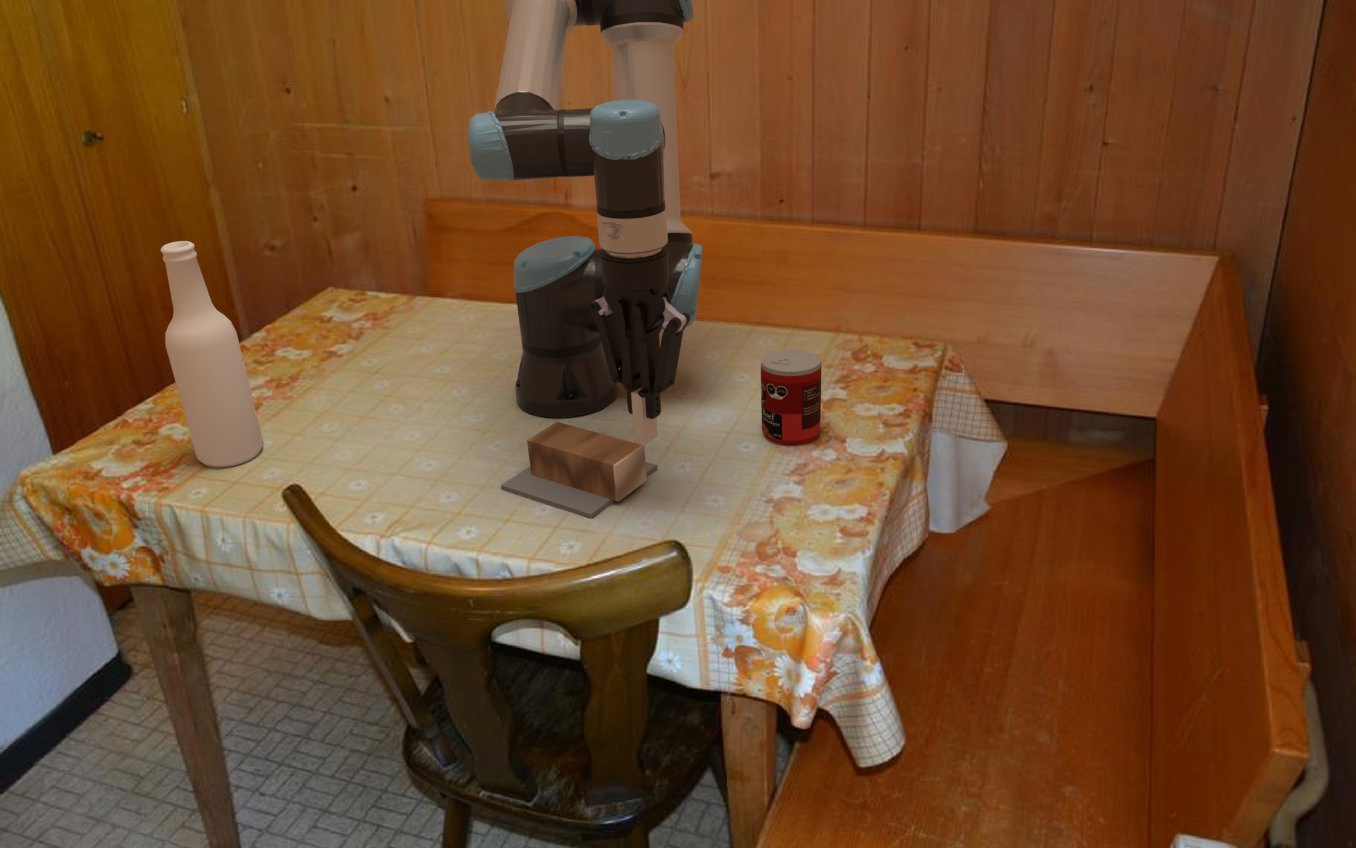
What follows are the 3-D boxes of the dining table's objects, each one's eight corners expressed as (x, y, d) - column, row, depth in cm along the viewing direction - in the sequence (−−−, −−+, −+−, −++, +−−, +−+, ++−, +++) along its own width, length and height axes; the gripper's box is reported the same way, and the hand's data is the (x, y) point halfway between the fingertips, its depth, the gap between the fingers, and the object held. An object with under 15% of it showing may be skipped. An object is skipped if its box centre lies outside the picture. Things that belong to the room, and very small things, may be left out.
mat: (501, 489, 140) (500, 485, 139) (569, 444, 150) (569, 440, 150) (591, 518, 132) (591, 514, 132) (657, 468, 143) (657, 464, 142)
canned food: (757, 423, 153) (756, 350, 148) (814, 419, 153) (815, 346, 148) (766, 449, 146) (765, 373, 141) (825, 444, 147) (826, 368, 142)
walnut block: (618, 501, 134) (531, 474, 142) (646, 480, 139) (560, 455, 146) (615, 466, 132) (527, 440, 139) (644, 445, 137) (556, 421, 144)
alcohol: (269, 436, 157) (219, 231, 143) (259, 465, 149) (205, 251, 135) (204, 443, 155) (149, 238, 142) (191, 473, 148) (130, 259, 134)
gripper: (566, 249, 121) (584, 439, 132) (662, 265, 115) (673, 465, 125) (608, 232, 127) (622, 416, 137) (701, 246, 120) (709, 439, 130)
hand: (646, 439), depth 131 cm, fingers closed
